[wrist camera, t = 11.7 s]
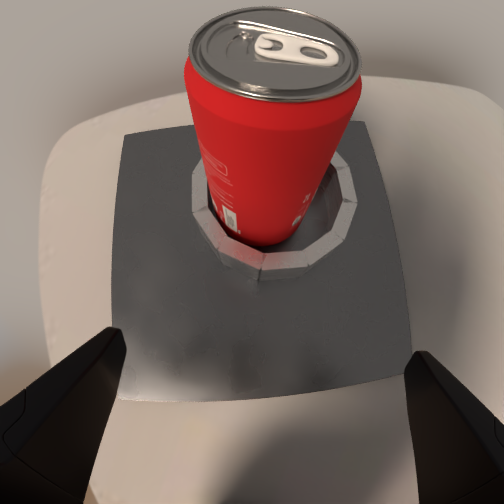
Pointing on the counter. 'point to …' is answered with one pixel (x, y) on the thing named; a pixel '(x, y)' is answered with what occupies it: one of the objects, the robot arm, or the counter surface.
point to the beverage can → (269, 113)
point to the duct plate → (252, 282)
